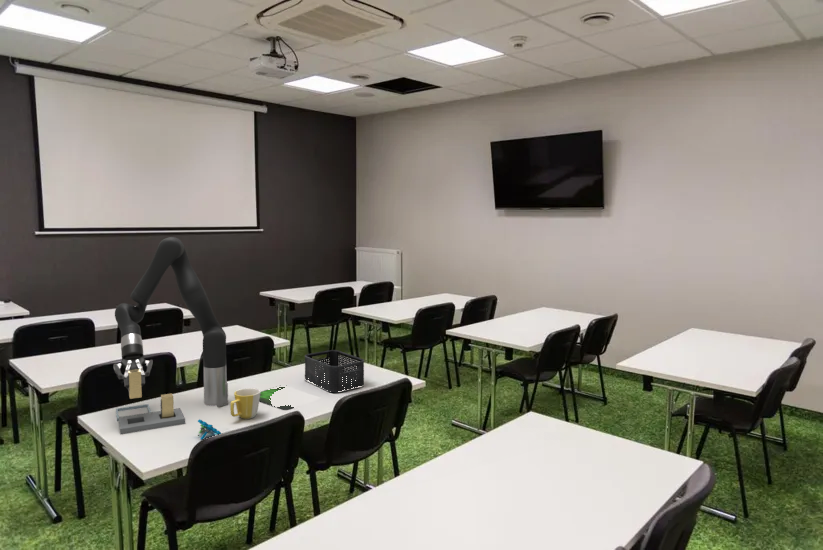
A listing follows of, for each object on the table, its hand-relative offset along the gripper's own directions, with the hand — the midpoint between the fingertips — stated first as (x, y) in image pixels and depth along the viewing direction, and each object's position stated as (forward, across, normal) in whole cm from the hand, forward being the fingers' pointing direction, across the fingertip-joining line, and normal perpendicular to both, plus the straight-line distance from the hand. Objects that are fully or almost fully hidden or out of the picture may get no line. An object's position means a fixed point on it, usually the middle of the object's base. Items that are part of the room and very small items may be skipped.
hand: (135, 386), depth 198 cm
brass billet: (+2, 0, +4) cm, 5 cm away
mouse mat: (+5, +60, +19) cm, 64 cm away
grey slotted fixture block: (+11, +6, +13) cm, 18 cm away
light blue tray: (+1, 0, +23) cm, 23 cm away
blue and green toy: (+26, +23, -2) cm, 34 cm away
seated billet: (+10, +11, +12) cm, 19 cm away
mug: (+16, +38, +8) cm, 43 cm away
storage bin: (-1, +88, +26) cm, 92 cm away
